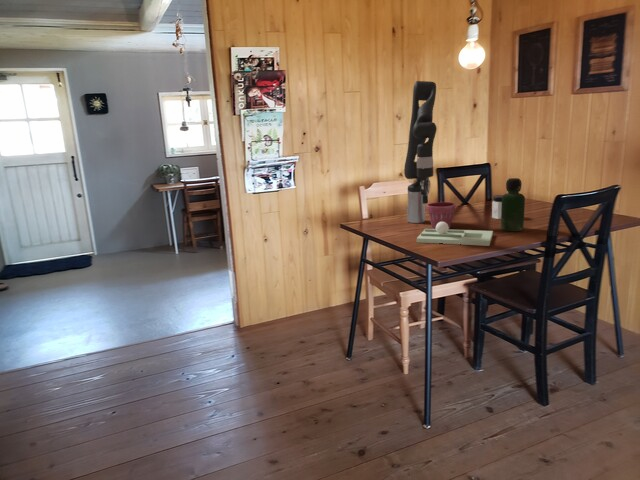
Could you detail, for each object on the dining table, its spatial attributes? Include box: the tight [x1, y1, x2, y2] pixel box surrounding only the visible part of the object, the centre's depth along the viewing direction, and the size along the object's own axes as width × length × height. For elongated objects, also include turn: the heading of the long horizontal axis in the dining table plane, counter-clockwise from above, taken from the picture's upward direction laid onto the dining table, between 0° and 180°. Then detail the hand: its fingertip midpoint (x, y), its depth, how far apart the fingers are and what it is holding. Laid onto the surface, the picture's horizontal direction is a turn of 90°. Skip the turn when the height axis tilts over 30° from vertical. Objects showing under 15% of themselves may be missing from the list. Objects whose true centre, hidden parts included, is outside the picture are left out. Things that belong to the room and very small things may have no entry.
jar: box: [491, 194, 504, 220], centre depth 259 cm, size 9×8×12 cm
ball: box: [436, 222, 450, 234], centre depth 223 cm, size 6×6×6 cm
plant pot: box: [426, 201, 456, 230], centre depth 242 cm, size 14×14×13 cm
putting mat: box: [416, 228, 494, 247], centre depth 222 cm, size 32×20×3 cm, turn 66°
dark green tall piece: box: [500, 177, 526, 232], centre depth 230 cm, size 10×10×25 cm
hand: (425, 203), depth 224 cm, fingers closed
